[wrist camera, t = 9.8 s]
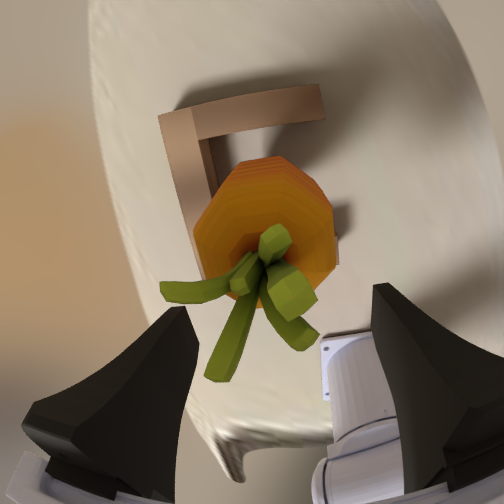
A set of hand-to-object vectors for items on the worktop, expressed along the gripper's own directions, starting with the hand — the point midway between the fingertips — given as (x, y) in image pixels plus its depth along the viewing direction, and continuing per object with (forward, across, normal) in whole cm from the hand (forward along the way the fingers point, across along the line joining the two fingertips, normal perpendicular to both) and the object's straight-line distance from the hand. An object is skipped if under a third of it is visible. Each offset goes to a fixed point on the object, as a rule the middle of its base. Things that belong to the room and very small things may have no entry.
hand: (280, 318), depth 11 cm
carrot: (+10, 0, -3) cm, 11 cm away
